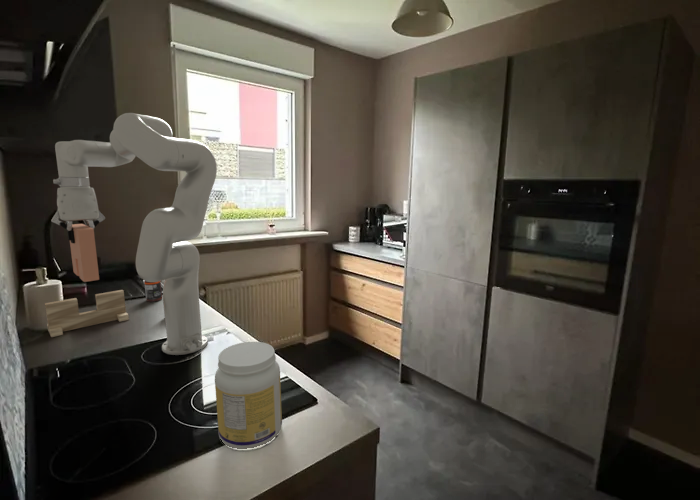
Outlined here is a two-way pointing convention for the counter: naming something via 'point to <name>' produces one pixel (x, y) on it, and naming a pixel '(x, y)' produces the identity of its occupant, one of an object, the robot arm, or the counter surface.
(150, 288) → the supplement bottle
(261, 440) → the supplement tub
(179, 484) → the counter surface
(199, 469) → the counter surface
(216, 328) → the counter surface
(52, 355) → the counter surface
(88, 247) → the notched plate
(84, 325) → the slotted stand
